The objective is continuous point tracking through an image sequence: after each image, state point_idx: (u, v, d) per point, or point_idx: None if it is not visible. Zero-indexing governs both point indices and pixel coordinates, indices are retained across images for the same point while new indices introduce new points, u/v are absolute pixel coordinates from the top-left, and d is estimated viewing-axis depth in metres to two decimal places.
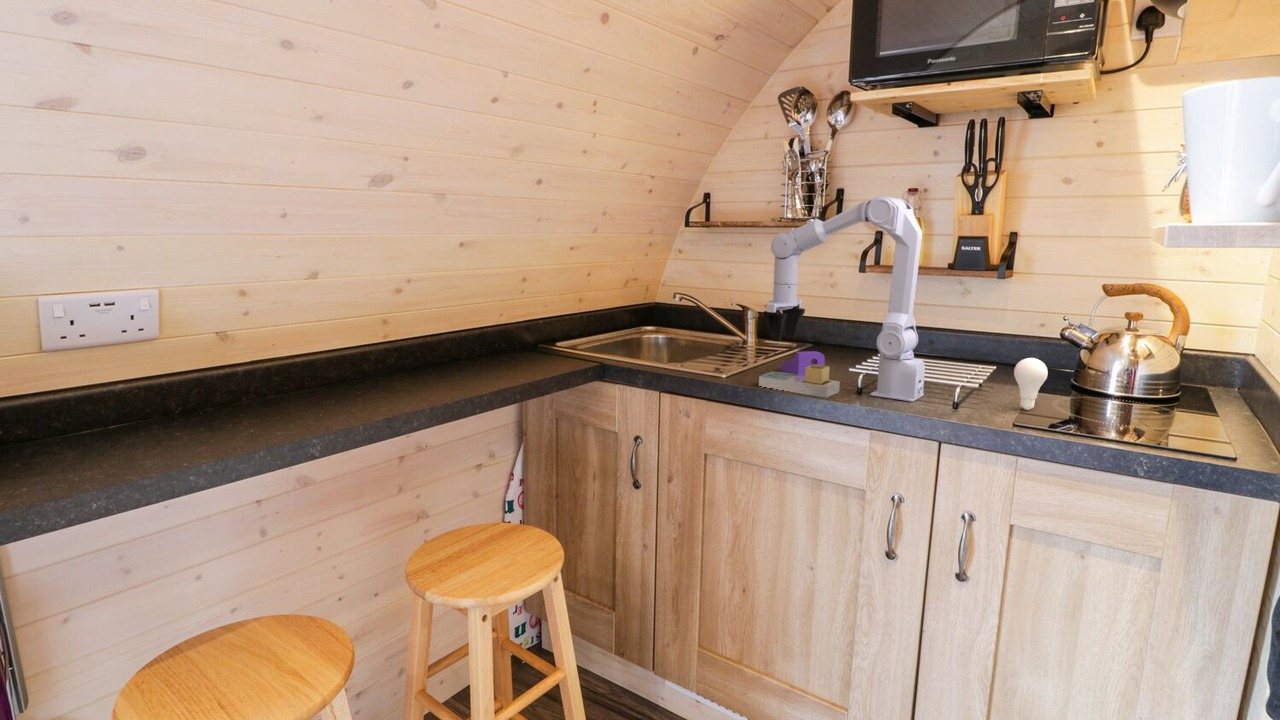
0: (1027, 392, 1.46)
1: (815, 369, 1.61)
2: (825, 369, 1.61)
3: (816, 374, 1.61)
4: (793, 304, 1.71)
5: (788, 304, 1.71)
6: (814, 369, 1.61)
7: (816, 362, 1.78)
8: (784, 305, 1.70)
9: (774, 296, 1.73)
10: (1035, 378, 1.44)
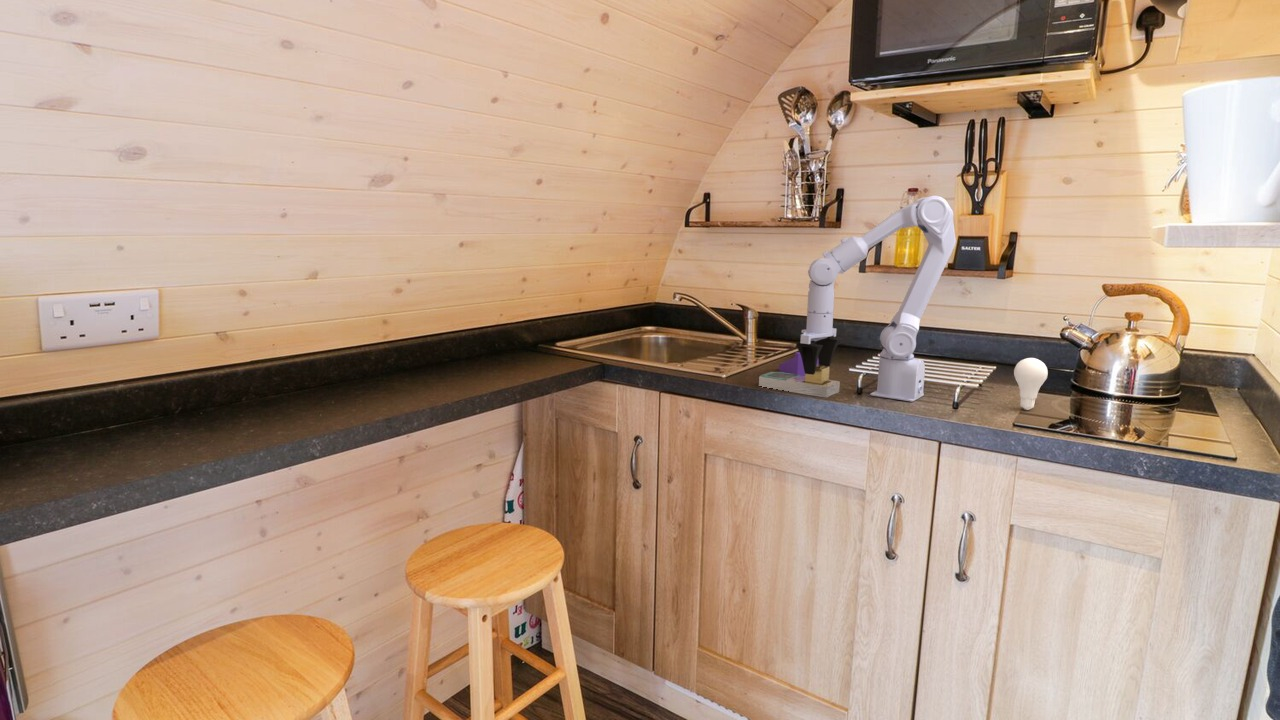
0: (1027, 392, 1.46)
1: None
2: (825, 369, 1.61)
3: (816, 374, 1.61)
4: (829, 334, 1.58)
5: (823, 335, 1.57)
6: None
7: None
8: (819, 336, 1.57)
9: (808, 325, 1.60)
10: (1035, 378, 1.44)
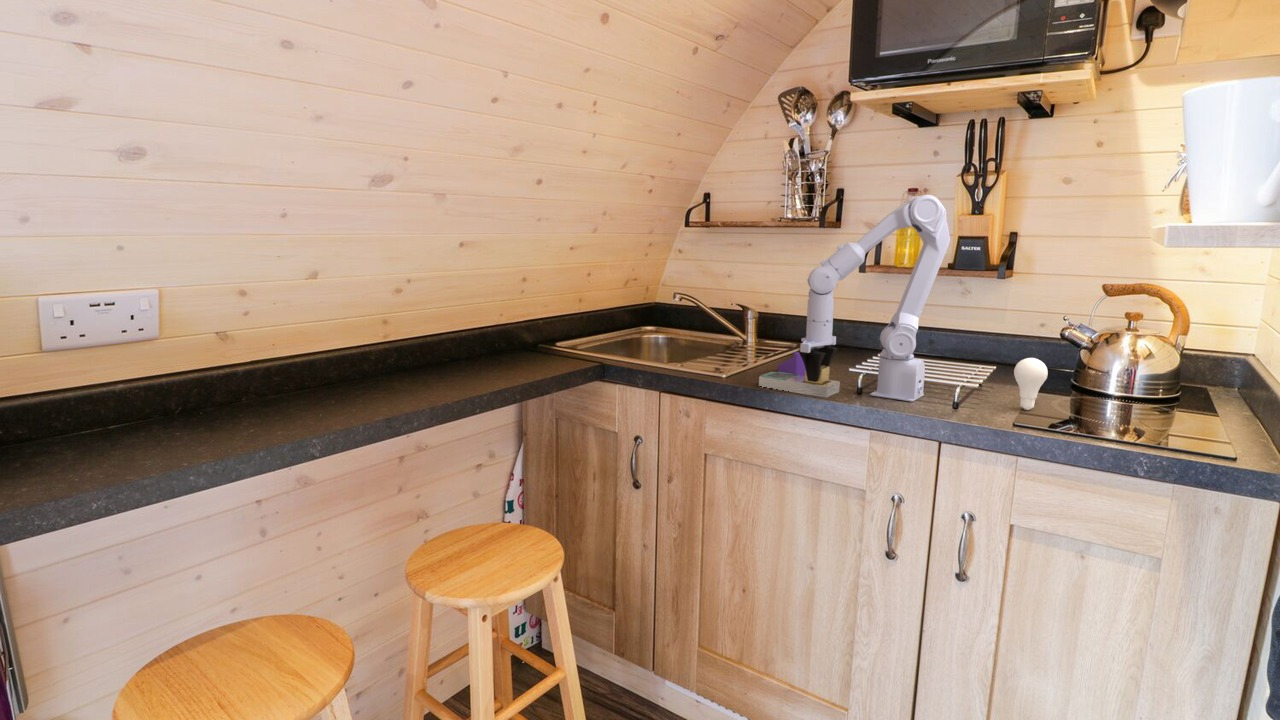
0: (1027, 392, 1.46)
1: None
2: (825, 369, 1.61)
3: None
4: (828, 343, 1.59)
5: (823, 343, 1.58)
6: None
7: None
8: (819, 344, 1.57)
9: (807, 334, 1.60)
10: (1035, 378, 1.44)
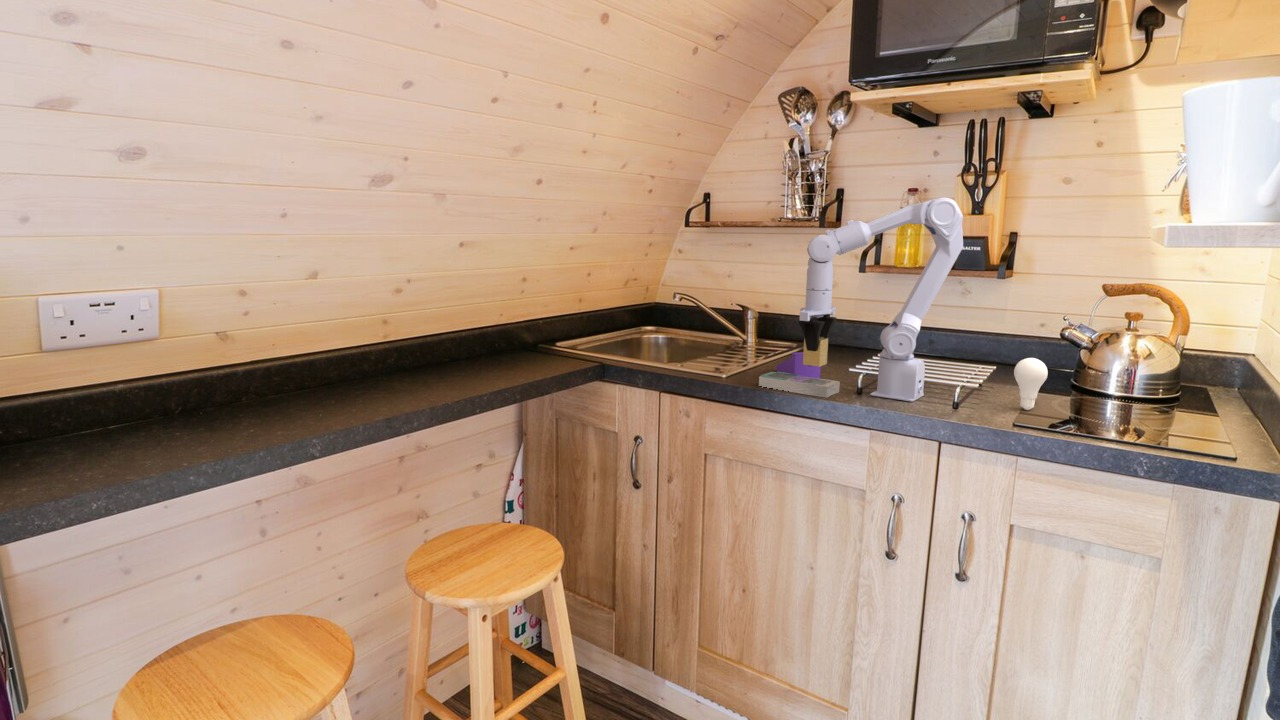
0: (1027, 392, 1.46)
1: None
2: (824, 340, 1.60)
3: None
4: (828, 312, 1.58)
5: (822, 312, 1.57)
6: None
7: None
8: (818, 313, 1.56)
9: (807, 303, 1.59)
10: (1035, 378, 1.44)
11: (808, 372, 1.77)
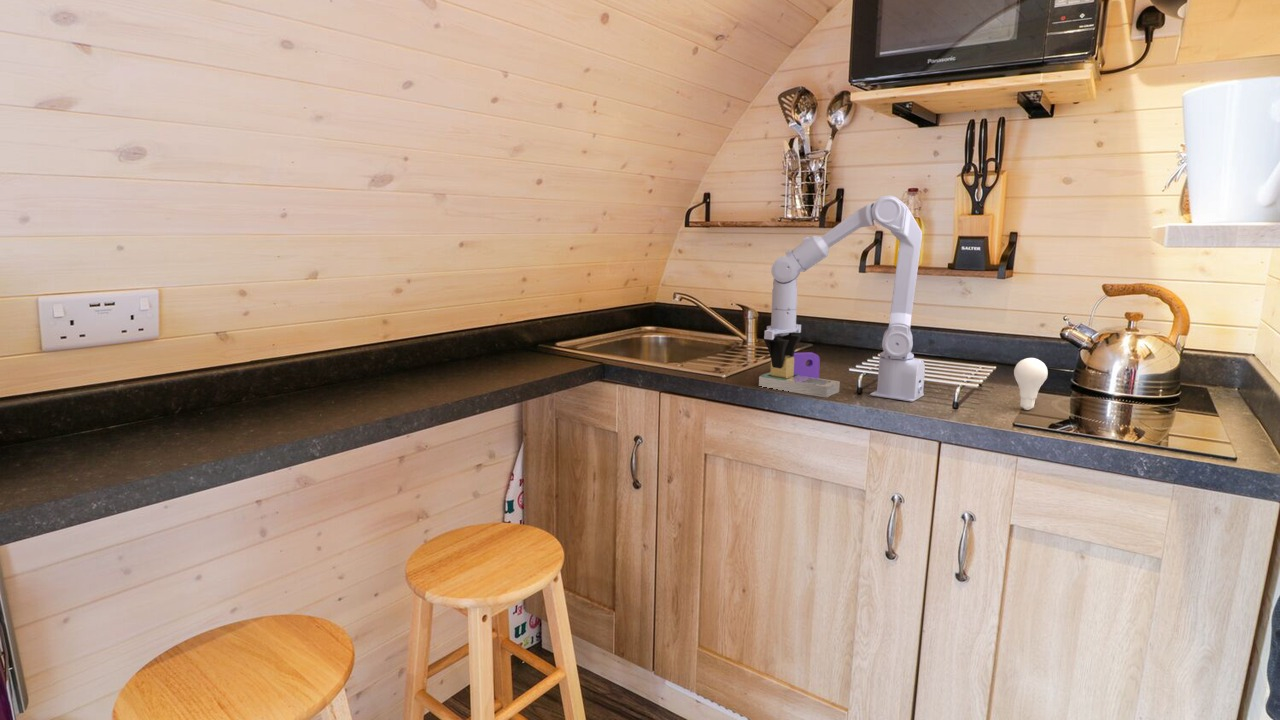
0: (1027, 392, 1.46)
1: None
2: (790, 359, 1.66)
3: None
4: (792, 330, 1.64)
5: (787, 331, 1.63)
6: None
7: (811, 363, 1.77)
8: (782, 332, 1.62)
9: (772, 322, 1.65)
10: (1035, 378, 1.44)
11: (806, 373, 1.76)
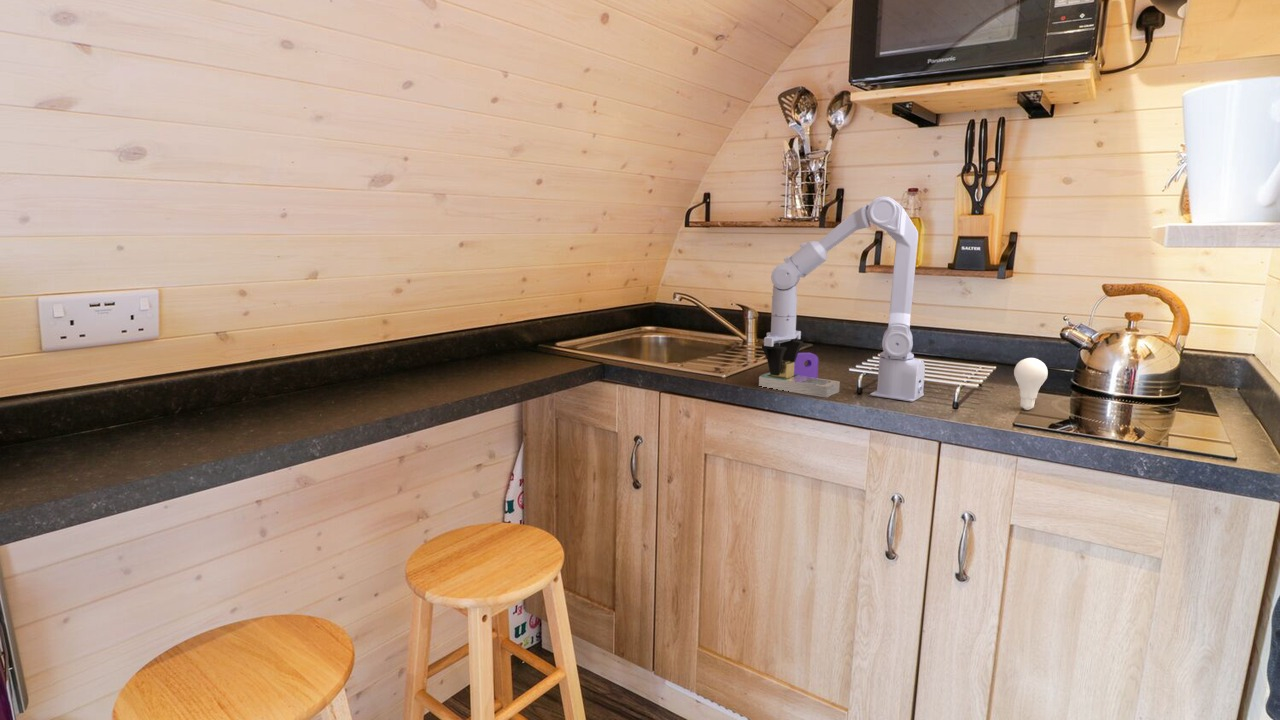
0: (1027, 392, 1.46)
1: None
2: (790, 364, 1.66)
3: (781, 369, 1.66)
4: (792, 337, 1.64)
5: (786, 337, 1.63)
6: None
7: (810, 363, 1.76)
8: (782, 338, 1.63)
9: (772, 328, 1.66)
10: (1035, 378, 1.44)
11: (805, 373, 1.76)
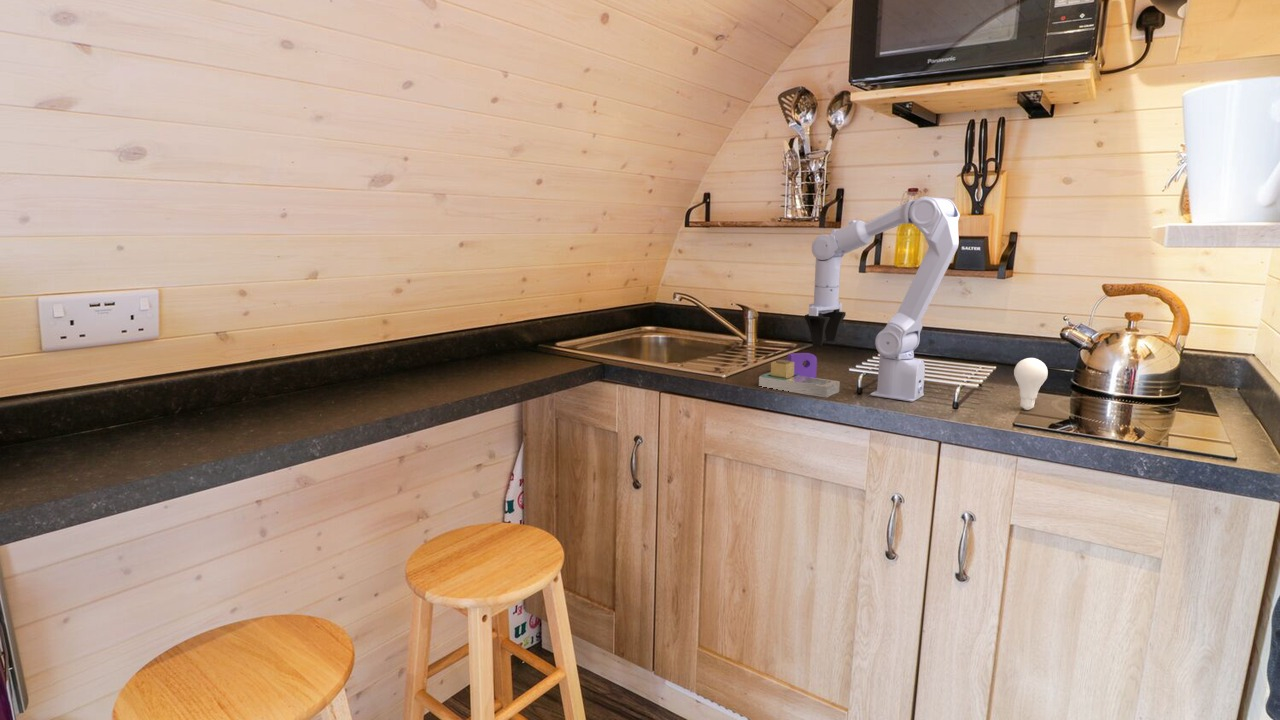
0: (1027, 392, 1.46)
1: (780, 364, 1.66)
2: (790, 364, 1.66)
3: (781, 369, 1.66)
4: (835, 307, 1.67)
5: (830, 307, 1.66)
6: (779, 364, 1.66)
7: (808, 364, 1.76)
8: (826, 308, 1.65)
9: (815, 299, 1.68)
10: (1035, 378, 1.44)
11: (804, 373, 1.76)
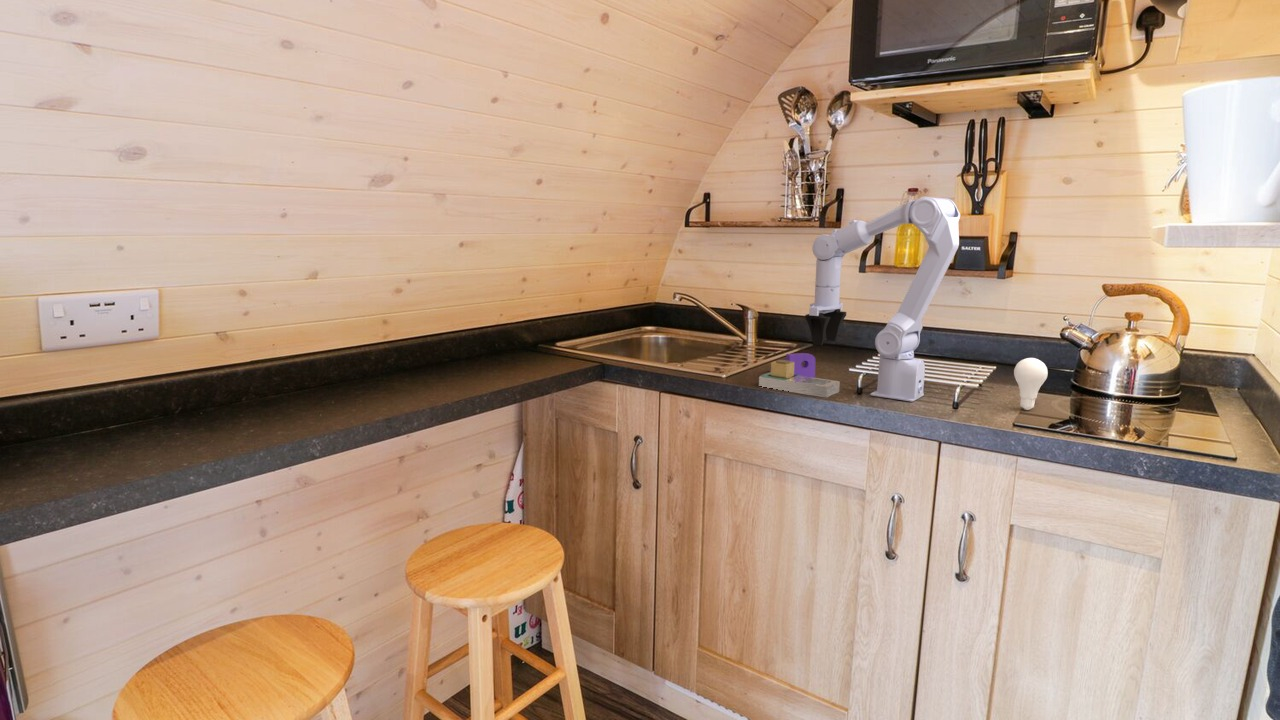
0: (1027, 392, 1.46)
1: (780, 364, 1.66)
2: (790, 364, 1.66)
3: (781, 369, 1.66)
4: (836, 307, 1.67)
5: (831, 307, 1.66)
6: (779, 364, 1.66)
7: (807, 364, 1.76)
8: (827, 308, 1.65)
9: (816, 299, 1.68)
10: (1035, 378, 1.44)
11: (802, 374, 1.75)
